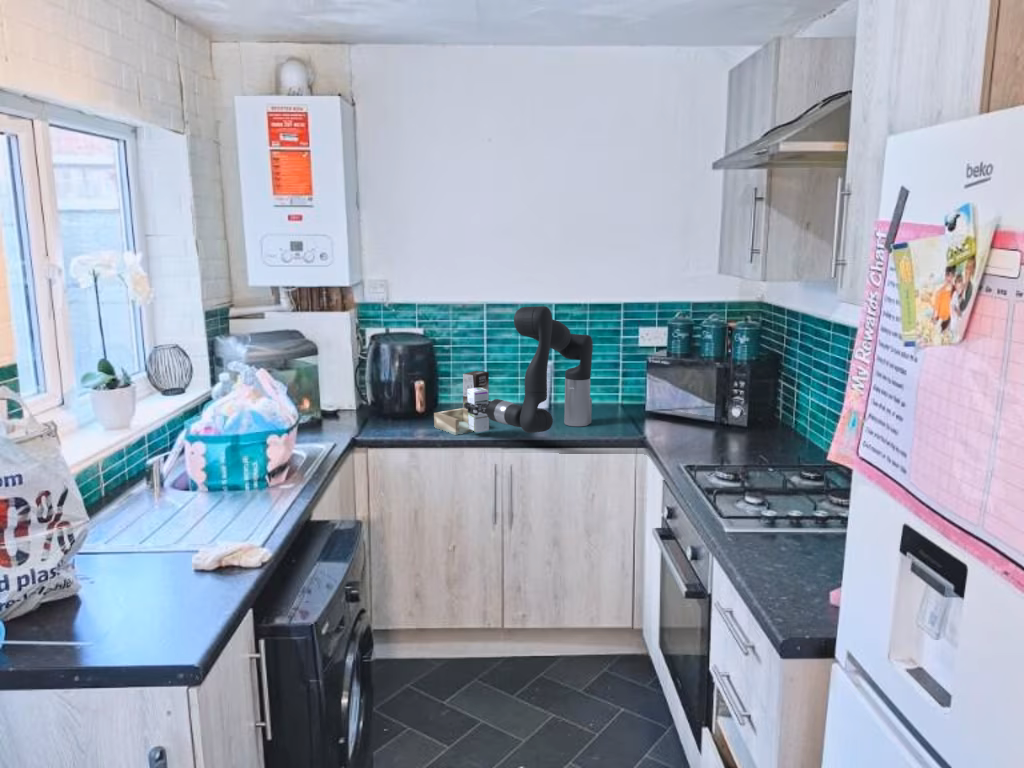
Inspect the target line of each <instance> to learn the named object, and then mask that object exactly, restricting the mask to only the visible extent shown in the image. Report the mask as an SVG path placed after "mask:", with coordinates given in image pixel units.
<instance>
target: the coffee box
mask: <svg viewBox="0 0 1024 768" xmlns="http://www.w3.org/2000/svg"><path fill="white" fill-rule="evenodd" d="M489 373H490V372H489V371H484V370H482V371H480V370H473V371H469V372H466V373H462V408H465V403H466V402H468V397H467V389H471V388H483V389H486V390H488V401H490V399H489V398H490V397H489V393H490V392H489V391H490V390H489V389H490V388H489V387H490V386H489V383H490V382H489V377H490V375H489Z"/></svg>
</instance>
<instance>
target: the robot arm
mask: <svg viewBox="0 0 1024 768" xmlns="http://www.w3.org/2000/svg"><path fill="white" fill-rule="evenodd" d="M513 324H514V327H515V328H514V329H516V332H517V333H518V334H519V335H521V337H522V336H523V337H527V338H530V339H532V340H533V339H534V341H535V340H536V341H537V342H538V345H537V348H536V352H535V354H534V356H533V357H532V359H531V361H530V362H529V365H528V366H527V368H526V371H525V374H524V398H523V402H522V405H520V404H516V403H513V402H511V401H507V400H504V399H499V398H495V399H492V400H489V401H488V403H477V404H472V403H468V402H466V403H465V408H466V409H468V411H467V412H468V413H471V414H473V415H478V414H484V415H488V417H489V420H491V421H493V422H495V423H499V424H502V425H506V426H507V425H508V426H509V425H510V426H511V427H516V428H521V430H523V431H524V433H526V434H533V433H543V432H547V431H548V430H550V429H551V427H552V426H553V422H554V421H553V420H554V419H553V416H552V414H551V413H550V412H549V411H548V410H547V409H545V408H538V407H539V405H540V404H541V403H543V402H545V401H546V400H547V398H548V366H549V357H550V356H549V355H550V350H551V349H552V350H554V351H556V352H558V353H559V354H560V355H561V356H562V357H563V358H565V359H568V360H574V361H577V360H578V361H579V364H578V365H577V366H574V367H570V368H568V369H566V370H565V374H564V378H565V379H564V417H563V419H564V422H563V423H564V425H566V426H569V427H587V426H588V425H590V424H592V414H593V412H592V411H593V406H592V405H593V398H592V397H591V373H592V359H593V350H594V349H593V347H594V344H593V339H592V336H591V335H590V334H589V335H588V334H580V333H578V334H577V333H571V331H570V329H569V328H568V327H567V325H565V324H564V323H563V322H561V321H559V320H556V319H553V315H552V312H551V310H550V308H549V307H548V306H544V305H542V306H541V305H539V306H538V305H537V306H523V307H519V308H518V309H517V311H516V312H515V313H514V316H513ZM480 405H482V406H481V409H480ZM475 406H476V407H475Z"/></svg>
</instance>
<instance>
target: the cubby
mask: <svg viewBox="0 0 1024 768" xmlns="http://www.w3.org/2000/svg"><path fill="white" fill-rule="evenodd" d="M467 411H468V409H466V408H463V407H461V408H456V409H455V408H454V409H449V410H444V411H443V410H442V411H438V412H433V423H434V424H433V425H434V426H433V427H435V429H437V430H439V429H440V431H442V430H443V431H442V432H445V431H446V433H448V432H449V433H448V434H451V435H454V436H459V435H458V434H460V435H464V434H463V433H465V434H468V432H470V433H474V432H473V431H472V430H470V429H468V412H467Z"/></svg>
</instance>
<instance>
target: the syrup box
mask: <svg viewBox="0 0 1024 768" xmlns="http://www.w3.org/2000/svg"><path fill="white" fill-rule="evenodd" d="M467 397H468V403H472V404H477V403H488V390H486V389H483V388H471V389H467ZM481 406H482V405H480V409H481ZM475 407H476V406H475ZM468 429H470V430H472V431H474V432H473V433H482V432H488V431H489V430H490V418H489V417H488V415H484V414H478V415H473V414H471V413H468Z"/></svg>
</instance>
